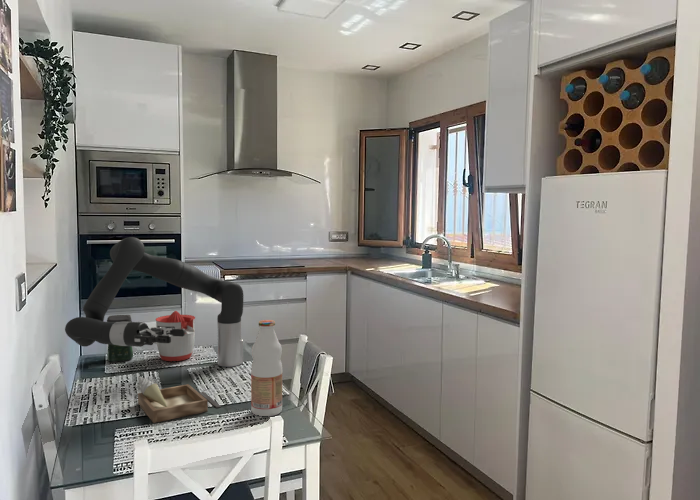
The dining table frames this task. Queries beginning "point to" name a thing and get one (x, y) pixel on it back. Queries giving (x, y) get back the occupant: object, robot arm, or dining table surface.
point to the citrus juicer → (177, 337)
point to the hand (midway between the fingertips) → (177, 336)
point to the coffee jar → (119, 351)
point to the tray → (176, 403)
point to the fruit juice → (266, 372)
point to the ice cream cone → (151, 390)
